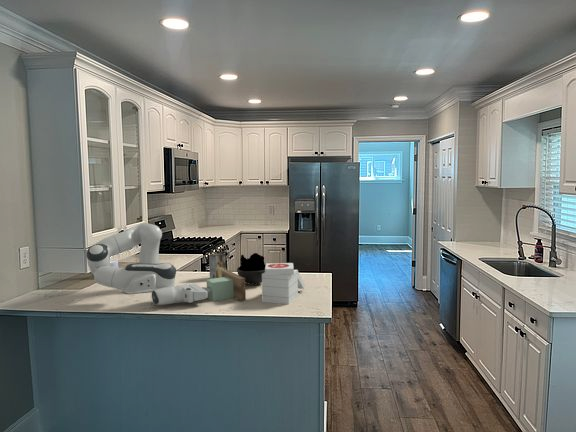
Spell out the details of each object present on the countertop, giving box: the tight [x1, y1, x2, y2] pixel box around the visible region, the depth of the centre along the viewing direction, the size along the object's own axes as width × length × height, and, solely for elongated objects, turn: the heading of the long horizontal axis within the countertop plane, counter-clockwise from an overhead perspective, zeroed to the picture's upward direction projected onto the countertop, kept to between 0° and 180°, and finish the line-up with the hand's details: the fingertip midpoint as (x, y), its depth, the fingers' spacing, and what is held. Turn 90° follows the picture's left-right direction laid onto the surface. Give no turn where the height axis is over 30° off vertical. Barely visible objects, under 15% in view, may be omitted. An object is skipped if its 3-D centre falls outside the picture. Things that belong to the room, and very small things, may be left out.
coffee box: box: [208, 252, 227, 279], centre depth 282 cm, size 9×6×16 cm
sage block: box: [206, 277, 234, 302], centre depth 238 cm, size 12×9×10 cm
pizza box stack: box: [261, 262, 306, 305], centre depth 238 cm, size 19×30×18 cm, turn 160°
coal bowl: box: [236, 252, 266, 286], centre depth 266 cm, size 20×20×19 cm
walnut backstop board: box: [221, 269, 247, 302], centre depth 242 cm, size 3×26×12 cm, turn 30°
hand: (209, 289), depth 235 cm, fingers closed
